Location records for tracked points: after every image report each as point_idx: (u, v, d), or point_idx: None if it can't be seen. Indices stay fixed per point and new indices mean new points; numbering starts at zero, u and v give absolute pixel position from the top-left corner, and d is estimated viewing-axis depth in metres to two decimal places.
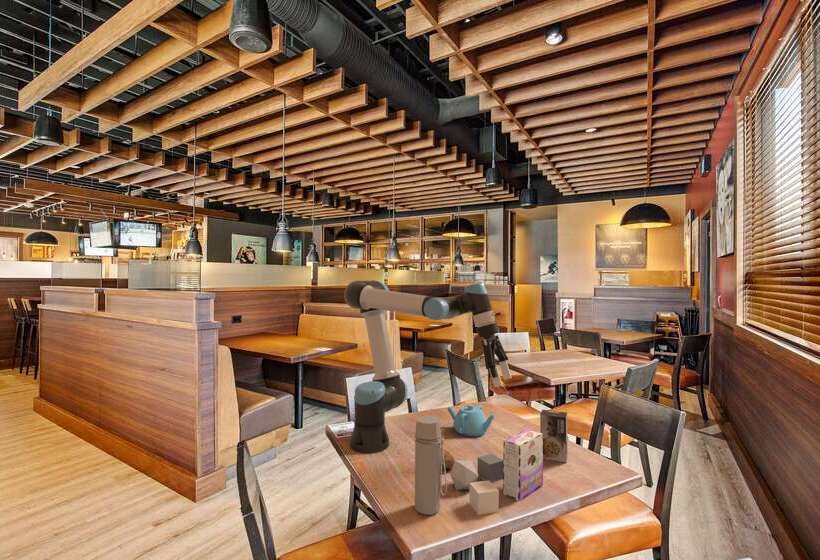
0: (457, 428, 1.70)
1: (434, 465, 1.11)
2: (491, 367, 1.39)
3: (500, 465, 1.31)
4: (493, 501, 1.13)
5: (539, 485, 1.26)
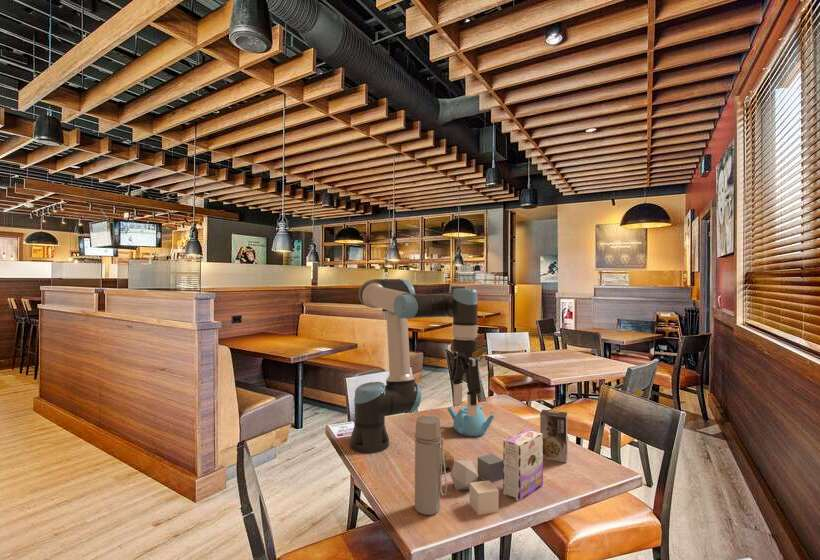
0: (457, 428, 1.70)
1: (434, 465, 1.11)
2: (475, 394, 1.20)
3: (500, 465, 1.31)
4: (493, 501, 1.13)
5: (539, 485, 1.26)
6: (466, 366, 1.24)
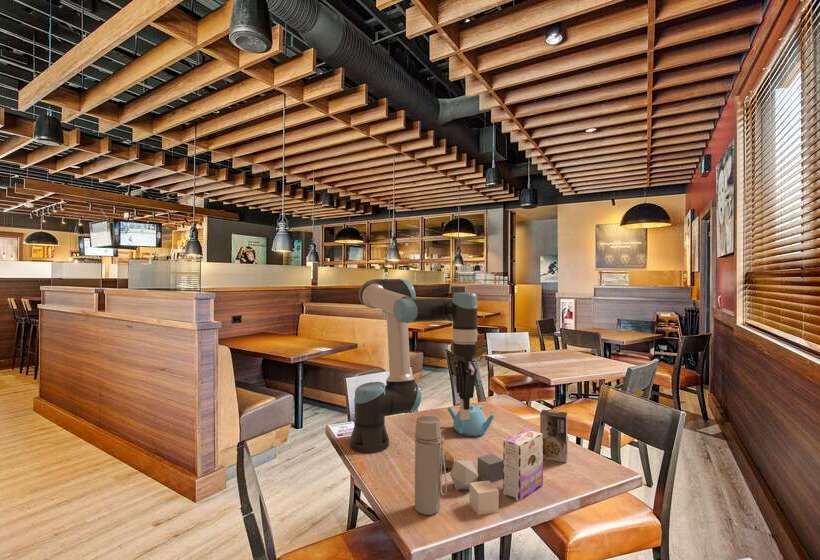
0: (457, 428, 1.70)
1: (434, 465, 1.11)
2: (468, 398, 1.24)
3: (500, 465, 1.31)
4: (493, 501, 1.13)
5: (539, 485, 1.26)
6: None
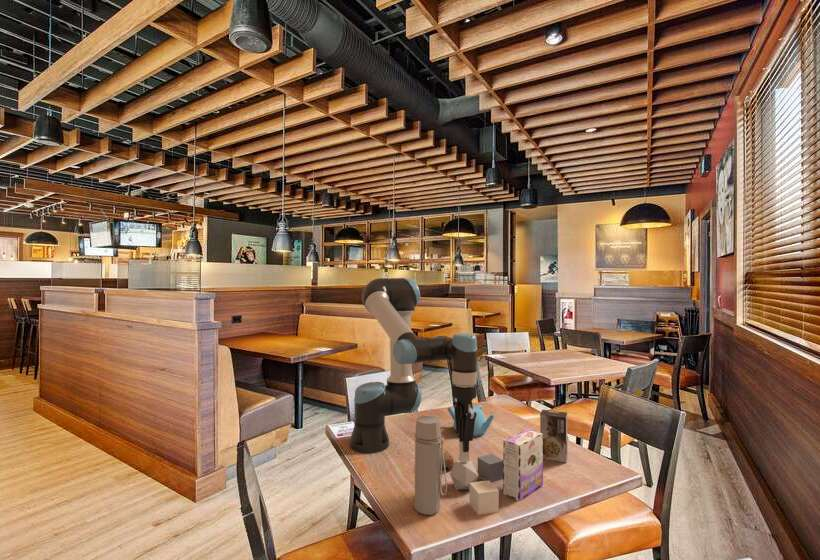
0: None
1: (434, 465, 1.11)
2: (467, 441, 1.24)
3: (500, 465, 1.31)
4: (493, 501, 1.13)
5: (539, 485, 1.26)
6: None
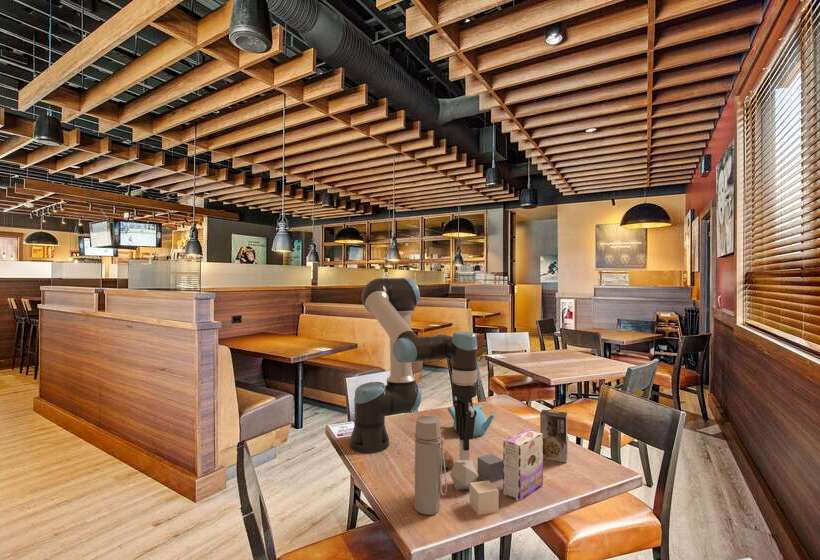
0: None
1: (434, 465, 1.11)
2: (467, 439, 1.24)
3: (500, 465, 1.31)
4: (493, 501, 1.13)
5: (539, 485, 1.26)
6: None
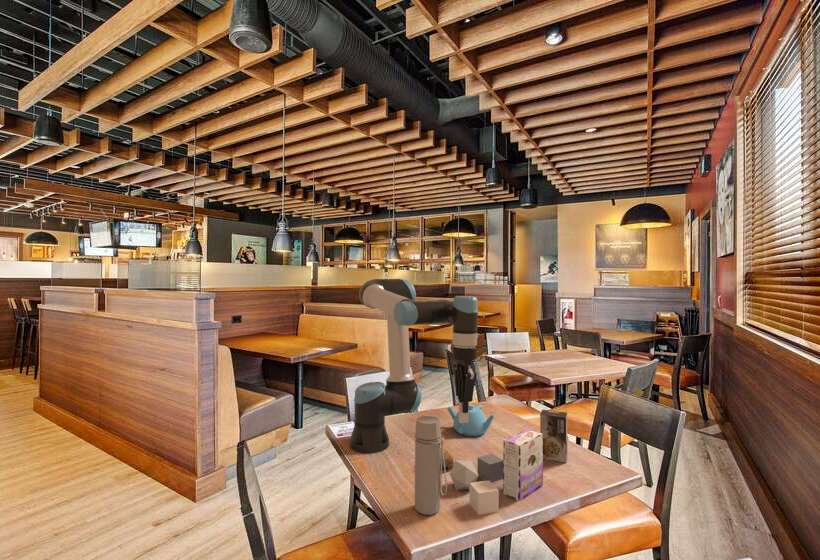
0: (457, 428, 1.70)
1: (434, 465, 1.11)
2: (467, 402, 1.25)
3: (500, 465, 1.31)
4: (493, 501, 1.13)
5: (539, 485, 1.26)
6: None
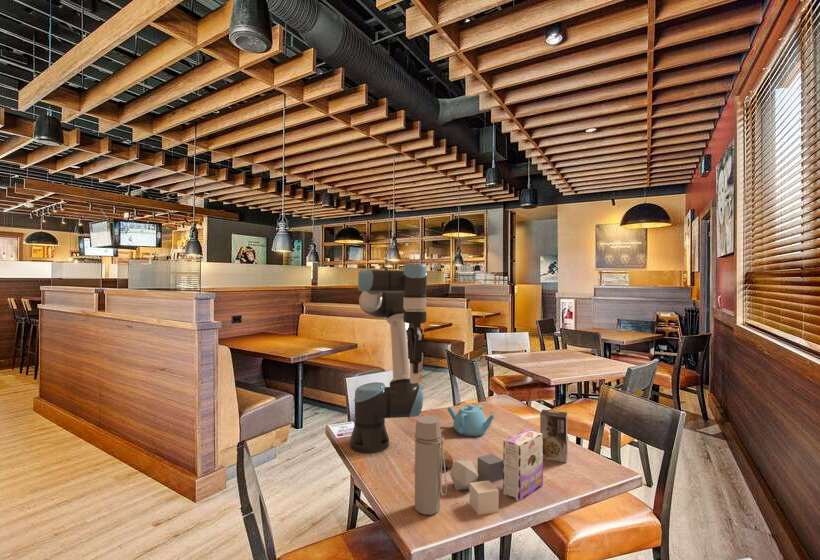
0: (457, 428, 1.70)
1: (434, 465, 1.11)
2: (417, 362, 1.32)
3: (500, 465, 1.31)
4: (493, 501, 1.13)
5: (539, 485, 1.26)
6: None
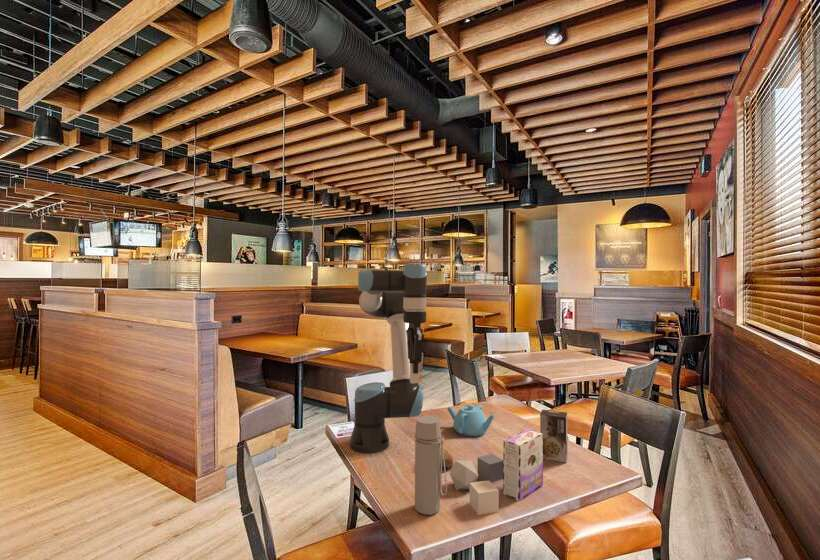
0: (457, 428, 1.70)
1: (434, 465, 1.11)
2: (416, 362, 1.32)
3: (500, 465, 1.31)
4: (493, 501, 1.13)
5: (539, 485, 1.26)
6: None
